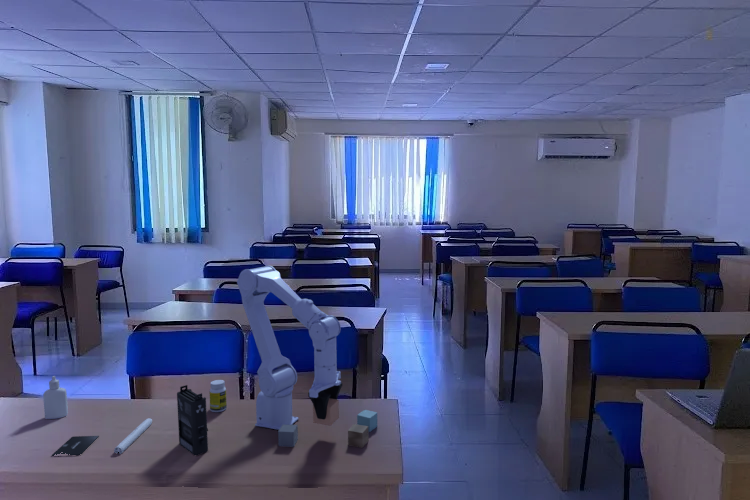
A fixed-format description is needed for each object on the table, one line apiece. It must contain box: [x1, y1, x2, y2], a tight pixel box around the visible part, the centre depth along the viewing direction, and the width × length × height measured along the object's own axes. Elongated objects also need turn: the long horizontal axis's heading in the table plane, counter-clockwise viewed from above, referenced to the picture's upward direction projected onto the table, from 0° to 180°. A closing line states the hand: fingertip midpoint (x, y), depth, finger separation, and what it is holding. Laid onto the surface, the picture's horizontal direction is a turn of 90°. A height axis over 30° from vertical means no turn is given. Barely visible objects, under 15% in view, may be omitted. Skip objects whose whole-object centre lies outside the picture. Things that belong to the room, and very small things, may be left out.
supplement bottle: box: [209, 379, 227, 413], centre depth 153 cm, size 5×5×8 cm
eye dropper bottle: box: [42, 375, 69, 420], centre depth 149 cm, size 4×6×12 cm
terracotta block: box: [312, 398, 340, 427], centre depth 135 cm, size 5×5×5 cm
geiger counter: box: [176, 384, 209, 457], centre depth 130 cm, size 10×4×15 cm, turn 45°
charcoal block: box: [277, 424, 299, 448], centre depth 133 cm, size 4×4×4 cm
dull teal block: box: [356, 409, 378, 433], centre depth 141 cm, size 4×4×4 cm
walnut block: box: [347, 423, 369, 449], centre depth 132 cm, size 4×4×4 cm
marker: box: [113, 417, 153, 455], centre depth 136 cm, size 18×2×2 cm, turn 178°
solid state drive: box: [51, 435, 100, 457], centre depth 132 cm, size 7×10×1 cm
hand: (326, 414), depth 135 cm, fingers closed on terracotta block, 5 cm apart
